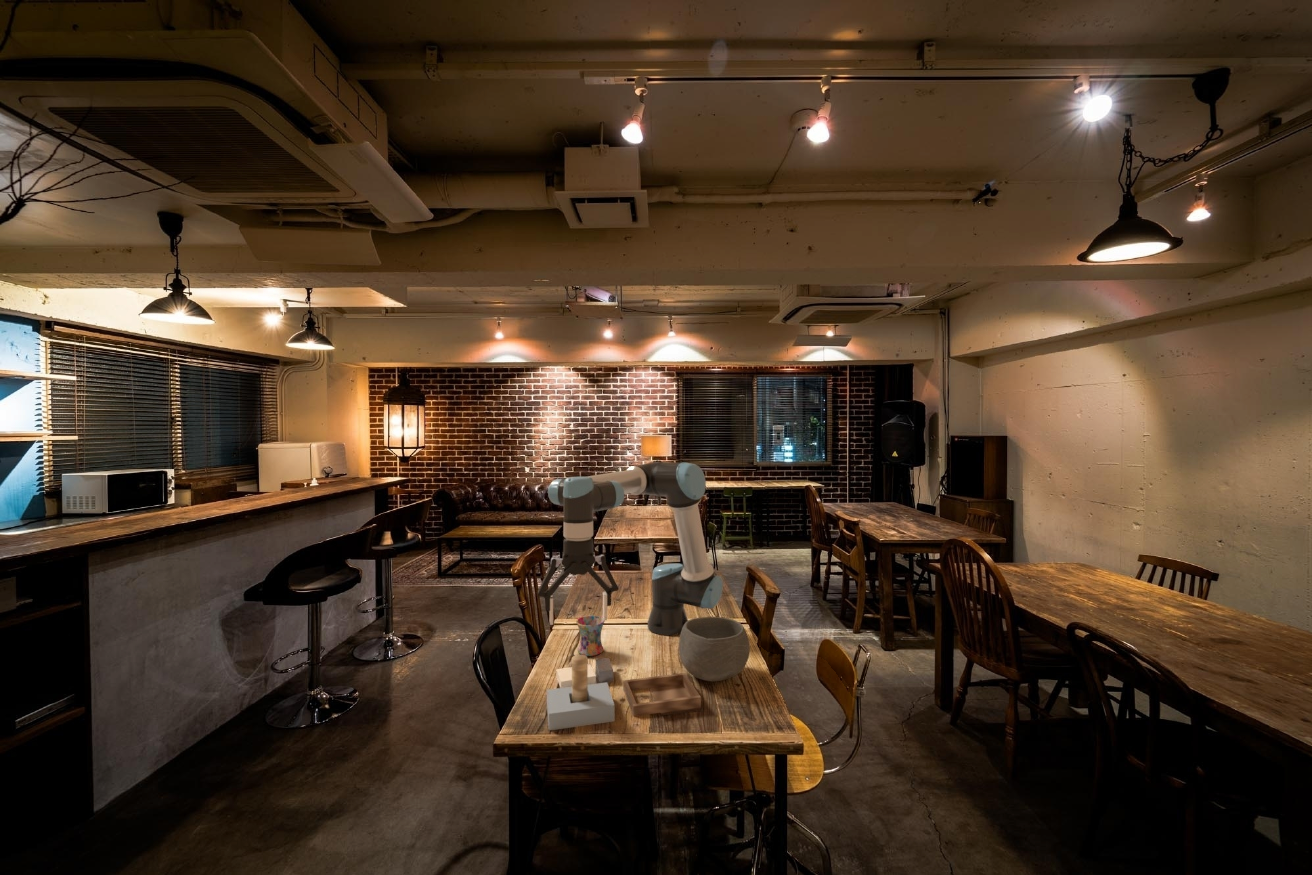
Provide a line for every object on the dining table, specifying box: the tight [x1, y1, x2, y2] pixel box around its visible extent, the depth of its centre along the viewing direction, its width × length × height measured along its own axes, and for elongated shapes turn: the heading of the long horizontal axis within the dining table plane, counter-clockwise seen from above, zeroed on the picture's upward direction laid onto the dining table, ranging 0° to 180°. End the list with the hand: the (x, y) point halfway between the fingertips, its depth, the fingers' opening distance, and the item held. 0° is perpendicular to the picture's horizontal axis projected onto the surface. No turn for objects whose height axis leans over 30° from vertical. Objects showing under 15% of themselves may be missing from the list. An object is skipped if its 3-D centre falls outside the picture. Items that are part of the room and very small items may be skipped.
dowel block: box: [546, 682, 616, 731], centre depth 133 cm, size 16×12×5 cm
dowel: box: [571, 654, 589, 703], centre depth 133 cm, size 4×4×14 cm
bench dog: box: [595, 657, 614, 684], centre depth 153 cm, size 4×8×4 cm, turn 14°
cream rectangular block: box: [555, 663, 597, 688], centre depth 150 cm, size 10×8×4 cm
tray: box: [622, 672, 702, 717], centre depth 140 cm, size 18×14×4 cm
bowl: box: [678, 616, 751, 682], centre depth 155 cm, size 21×21×15 cm
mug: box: [575, 615, 606, 657], centre depth 173 cm, size 12×9×11 cm
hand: (578, 620), depth 133 cm, fingers open, 13 cm apart
